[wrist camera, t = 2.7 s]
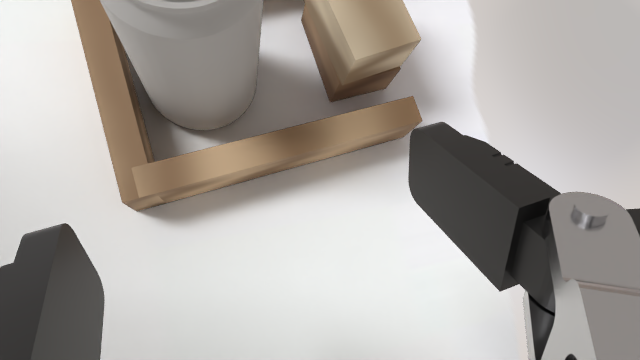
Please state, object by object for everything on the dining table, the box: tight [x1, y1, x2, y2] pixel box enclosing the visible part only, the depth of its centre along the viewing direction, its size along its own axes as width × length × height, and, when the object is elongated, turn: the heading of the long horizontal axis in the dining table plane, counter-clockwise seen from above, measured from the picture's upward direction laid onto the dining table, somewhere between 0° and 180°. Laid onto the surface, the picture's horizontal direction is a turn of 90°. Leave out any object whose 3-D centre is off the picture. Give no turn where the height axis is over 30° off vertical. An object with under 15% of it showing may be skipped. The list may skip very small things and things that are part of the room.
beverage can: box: [100, 0, 263, 130], centre depth 20 cm, size 6×6×12 cm
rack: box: [71, 0, 422, 211], centre depth 25 cm, size 17×13×3 cm
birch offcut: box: [304, 0, 421, 85], centre depth 24 cm, size 4×6×3 cm, turn 24°
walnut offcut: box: [301, 4, 401, 102], centre depth 27 cm, size 4×6×3 cm, turn 19°
